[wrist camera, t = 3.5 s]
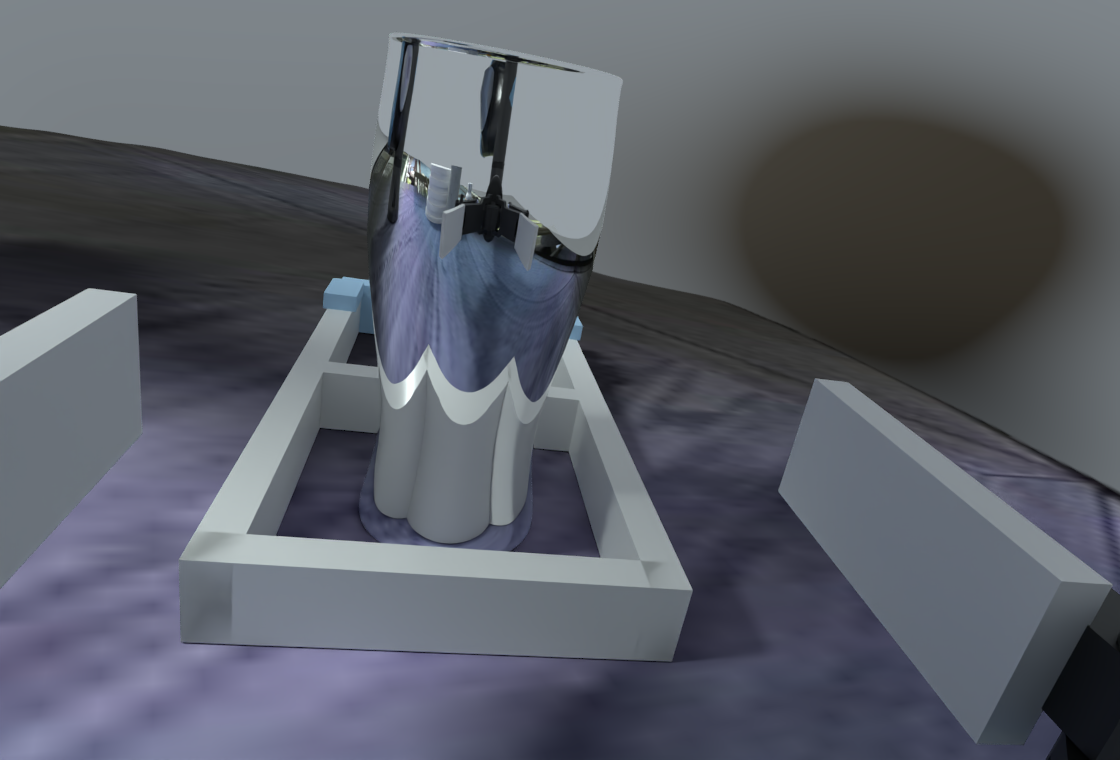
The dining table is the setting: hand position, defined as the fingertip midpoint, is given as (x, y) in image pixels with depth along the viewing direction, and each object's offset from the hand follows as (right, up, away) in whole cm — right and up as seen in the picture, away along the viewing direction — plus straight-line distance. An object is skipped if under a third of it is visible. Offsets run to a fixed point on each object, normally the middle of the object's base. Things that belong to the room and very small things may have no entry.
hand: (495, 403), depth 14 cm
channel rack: (-4, -2, +17) cm, 17 cm away
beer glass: (-3, -4, +11) cm, 12 cm away
